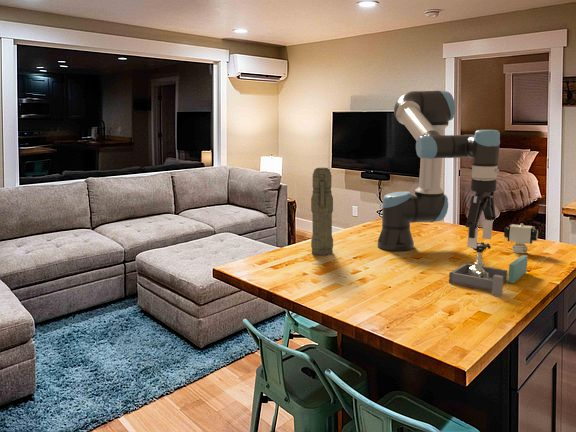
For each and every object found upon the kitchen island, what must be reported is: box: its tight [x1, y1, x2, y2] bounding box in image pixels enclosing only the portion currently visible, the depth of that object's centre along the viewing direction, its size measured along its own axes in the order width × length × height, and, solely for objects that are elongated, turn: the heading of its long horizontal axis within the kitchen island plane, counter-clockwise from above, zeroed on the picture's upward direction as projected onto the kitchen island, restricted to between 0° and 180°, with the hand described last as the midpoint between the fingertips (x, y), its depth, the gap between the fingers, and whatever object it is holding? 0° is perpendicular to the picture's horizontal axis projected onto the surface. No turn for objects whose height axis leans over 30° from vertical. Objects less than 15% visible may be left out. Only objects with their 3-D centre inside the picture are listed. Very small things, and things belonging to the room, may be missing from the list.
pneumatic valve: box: [503, 223, 539, 255], centre depth 196 cm, size 6×12×12 cm, turn 55°
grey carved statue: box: [310, 167, 334, 257], centre depth 197 cm, size 9×12×35 cm
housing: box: [448, 262, 508, 297], centre depth 159 cm, size 17×17×6 cm
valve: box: [469, 241, 491, 279], centre depth 161 cm, size 7×7×12 cm
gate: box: [507, 254, 529, 284], centre depth 164 cm, size 2×15×6 cm, turn 140°
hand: (479, 243), depth 160 cm, fingers open, 13 cm apart
